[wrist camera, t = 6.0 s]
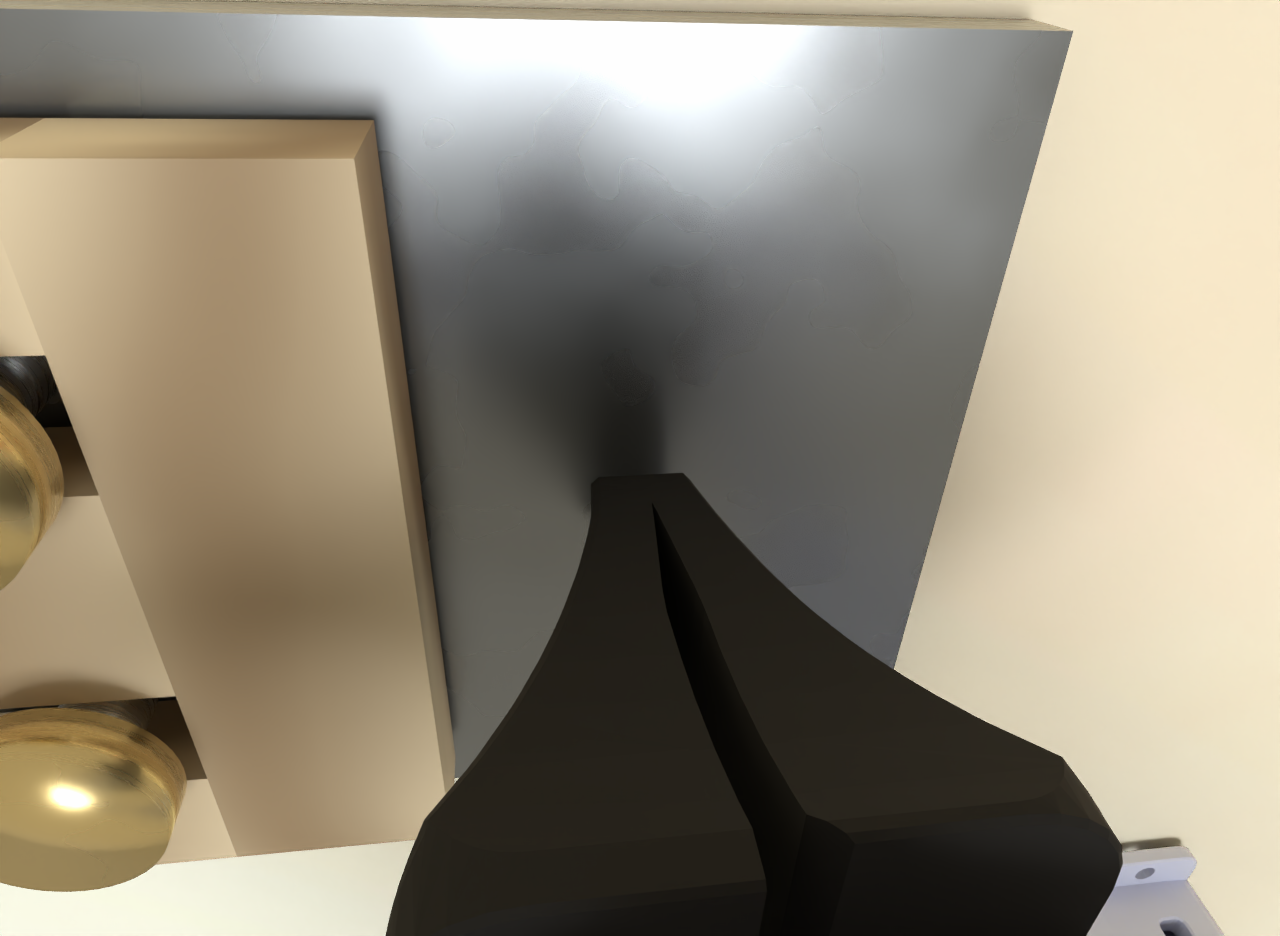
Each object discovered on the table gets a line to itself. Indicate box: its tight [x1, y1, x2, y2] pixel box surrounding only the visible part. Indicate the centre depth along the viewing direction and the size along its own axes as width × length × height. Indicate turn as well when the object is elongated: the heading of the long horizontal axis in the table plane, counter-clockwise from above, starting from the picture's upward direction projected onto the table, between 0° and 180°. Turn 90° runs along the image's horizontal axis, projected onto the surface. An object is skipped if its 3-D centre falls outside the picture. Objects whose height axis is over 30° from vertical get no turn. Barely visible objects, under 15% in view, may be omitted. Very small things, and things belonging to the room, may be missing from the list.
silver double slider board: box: [0, 0, 1073, 892], centre depth 12 cm, size 20×13×4 cm, turn 88°
